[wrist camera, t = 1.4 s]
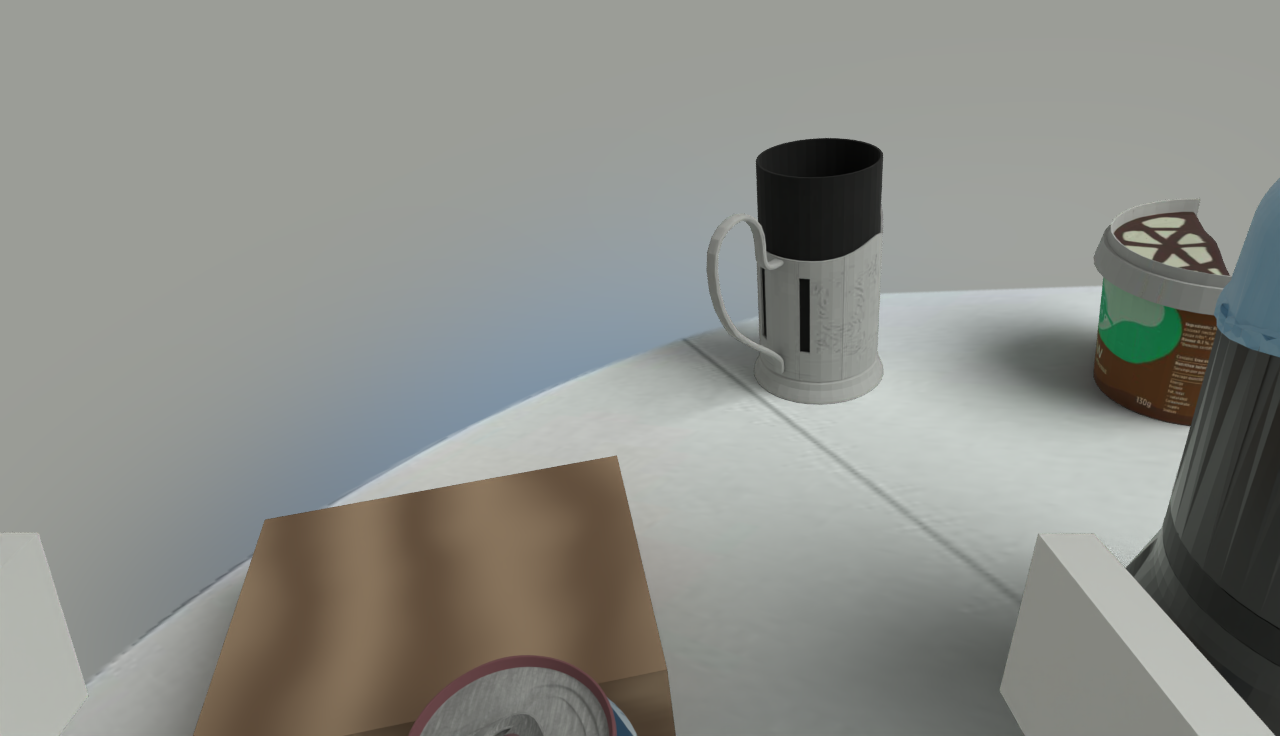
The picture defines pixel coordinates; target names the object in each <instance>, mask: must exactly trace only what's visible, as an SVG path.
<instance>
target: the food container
mask: <svg viewBox="0 0 1280 736" xmlns="http://www.w3.org/2000/svg"><path fill="white" fill-rule="evenodd" d="M1199 203H1200V199H1172V200H1164V201H1156V202H1151V203H1146V204H1142V205H1138V206H1135V207H1132V208H1130V209H1128V210H1125V211H1123V212H1122V213H1120V214H1119V215H1117V216H1116V217H1115V219H1114V220H1113V221H1112V224H1111V225H1109V227H1108V228H1107V229H1106V230H1105V232H1104V234H1103V237H1102V239H1101V241H1100V243H1099V245H1098V247H1097V250H1096V252H1095V255H1094V264H1095V266H1096V268H1097V270H1098V271H1099V273H1100V274H1101V275H1102V276H1103V286H1102V296H1101V305H1100V315H1099V324H1098V334H1097V343H1096V353H1095V362H1094V380H1095V382H1096V384H1097V386H1098V387H1099V388H1100V390H1101V391H1102V392H1103V393H1104V394H1105V395H1106V396H1108V397H1109V398H1110V399H1112V400H1113V401H1115V402H1116V403H1118V404H1120V405H1121V406H1123V407H1125V408H1127V409H1129V410H1132V411H1134V412H1136V413H1138V414H1141V415H1144V416H1147V417H1150V418H1153V419H1157V420H1161V421H1165V422H1169V423H1174V424H1180V425H1187V426H1191V423H1192V419H1193V416H1194V412H1195V408H1196V405H1197V401H1198V397H1199V394H1200V390H1201V386H1202V383H1203V379H1204V375H1205V372H1206V368H1207V364H1208V361H1209V357H1210V353H1211V350H1212V346H1213V342H1214V339H1215V335H1216V331H1217V319H1216V317H1215V316H1214V312H1215V307H1216V302H1217V299H1218V297H1219V295H1220V293H1221V292H1222V290H1223V289H1224V287H1225V286H1226V285H1227V284H1228V283H1229V282H1230V281H1231V278H1232V276H1230V275H1229V273H1228V271H1227V269H1226V267H1225V264H1224V262H1223V259H1222V256H1221V253H1220V250H1219V248H1218V246H1217V243H1216V242H1215V241H1214V239H1213V238H1212V237H1211V236H1209V235H1208V234H1207V233H1206V231H1205V230H1204V229H1203V227H1202V225H1201V223H1200V222H1199V220H1198V218H1197V213H1198V208H1199Z"/></svg>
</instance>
